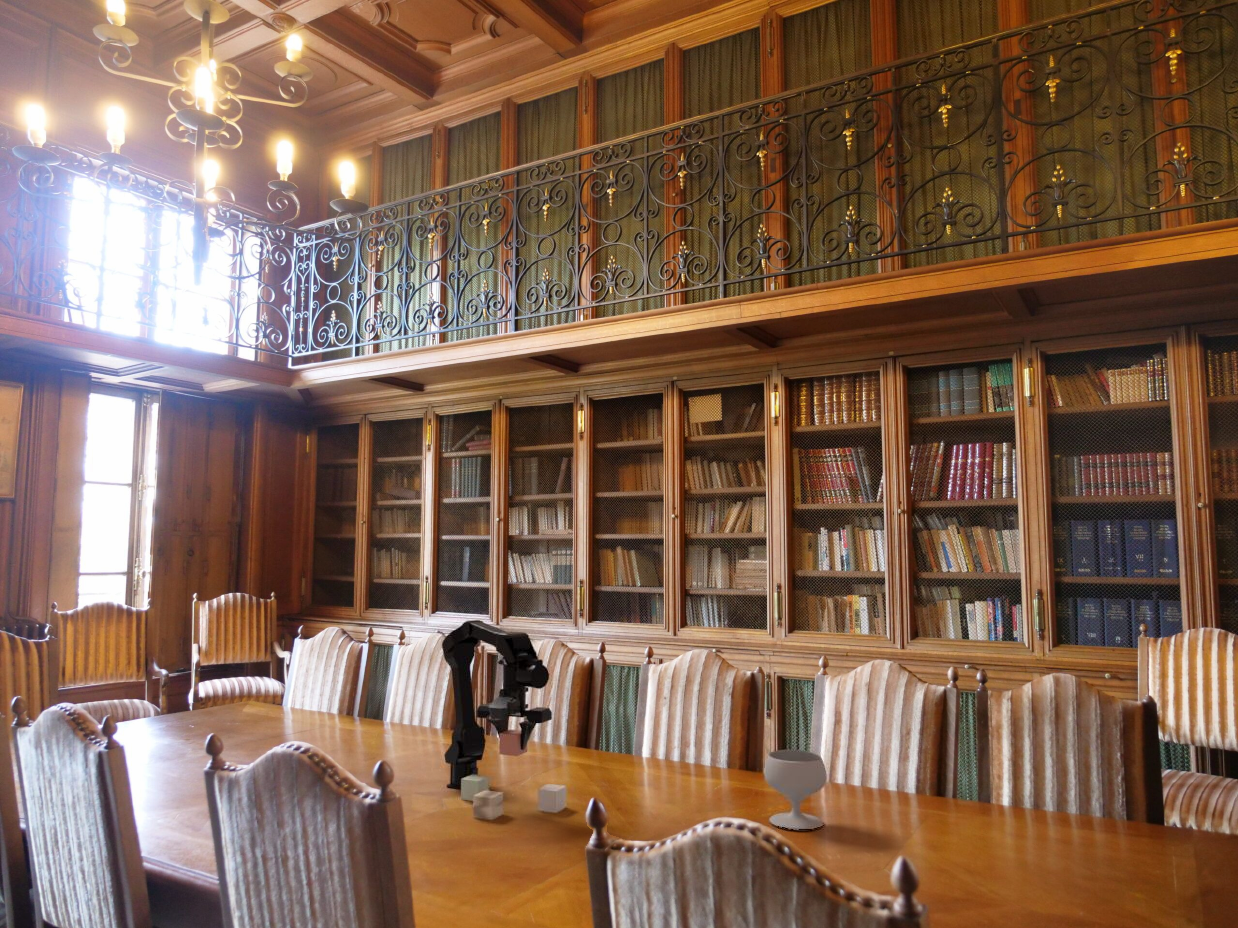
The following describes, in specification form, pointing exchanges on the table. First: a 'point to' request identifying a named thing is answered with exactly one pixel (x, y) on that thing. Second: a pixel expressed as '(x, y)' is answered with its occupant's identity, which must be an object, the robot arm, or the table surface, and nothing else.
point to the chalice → (795, 784)
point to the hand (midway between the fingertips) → (513, 748)
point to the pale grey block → (552, 798)
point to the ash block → (488, 805)
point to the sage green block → (473, 786)
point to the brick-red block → (511, 743)
